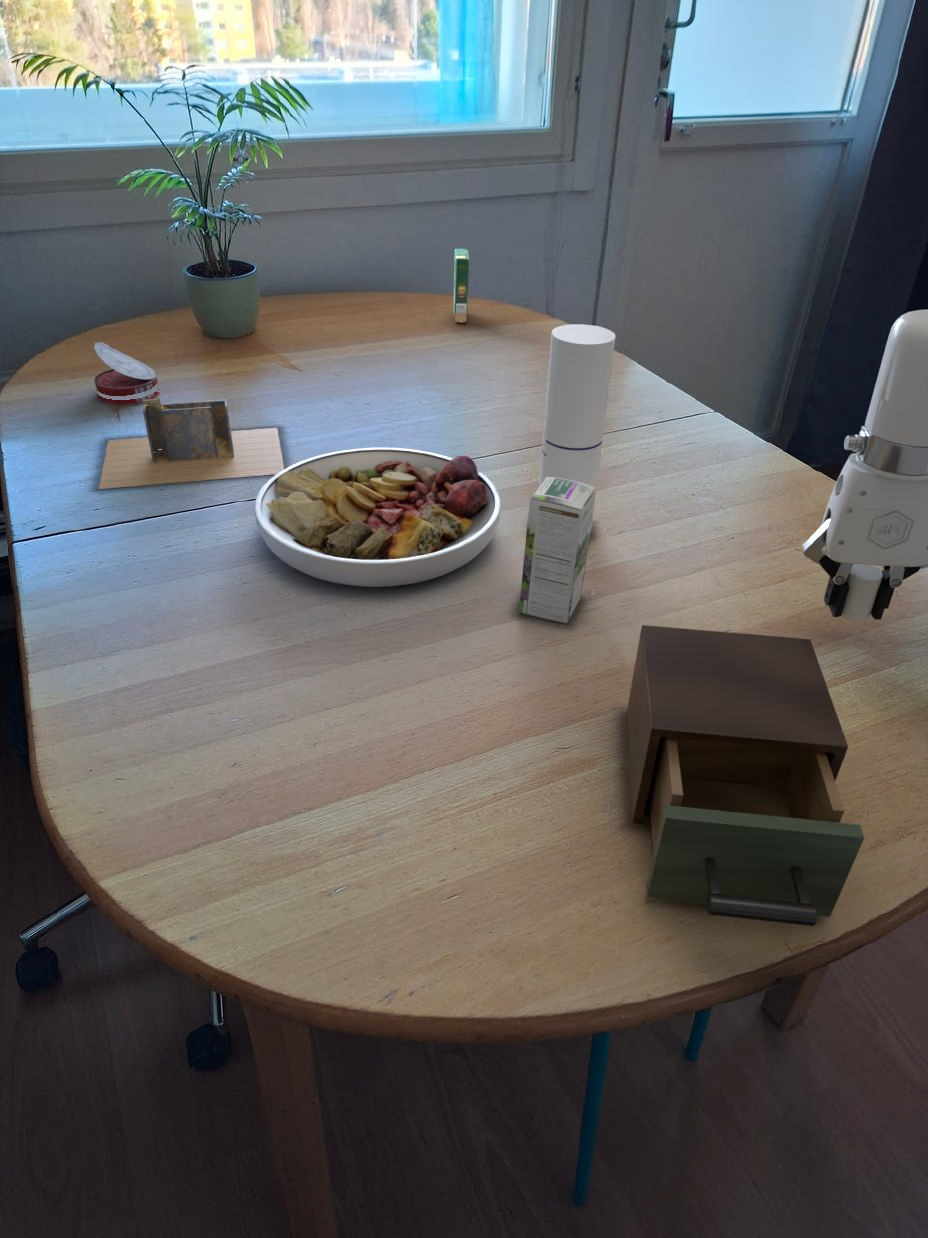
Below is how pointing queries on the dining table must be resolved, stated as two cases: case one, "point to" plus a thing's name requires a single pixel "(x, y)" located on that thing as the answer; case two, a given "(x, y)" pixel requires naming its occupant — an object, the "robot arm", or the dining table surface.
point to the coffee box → (461, 280)
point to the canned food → (123, 377)
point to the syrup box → (556, 548)
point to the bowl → (378, 515)
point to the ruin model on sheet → (190, 448)
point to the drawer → (748, 831)
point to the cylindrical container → (576, 402)
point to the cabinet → (725, 698)
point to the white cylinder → (861, 591)
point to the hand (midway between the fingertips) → (853, 609)
